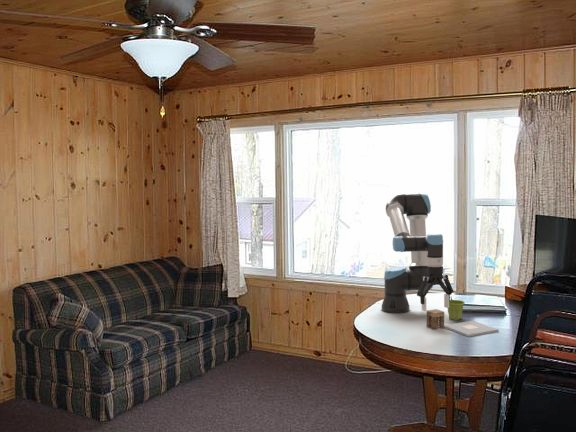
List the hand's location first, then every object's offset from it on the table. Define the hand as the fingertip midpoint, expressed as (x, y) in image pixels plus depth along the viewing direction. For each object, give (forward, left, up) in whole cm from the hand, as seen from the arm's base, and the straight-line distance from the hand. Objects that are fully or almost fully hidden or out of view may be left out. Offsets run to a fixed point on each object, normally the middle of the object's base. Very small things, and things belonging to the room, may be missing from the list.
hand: (435, 309), depth 278 cm
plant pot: (-8, +19, -9) cm, 23 cm away
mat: (+11, +12, -9) cm, 19 cm away
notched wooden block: (0, 0, -9) cm, 9 cm away
